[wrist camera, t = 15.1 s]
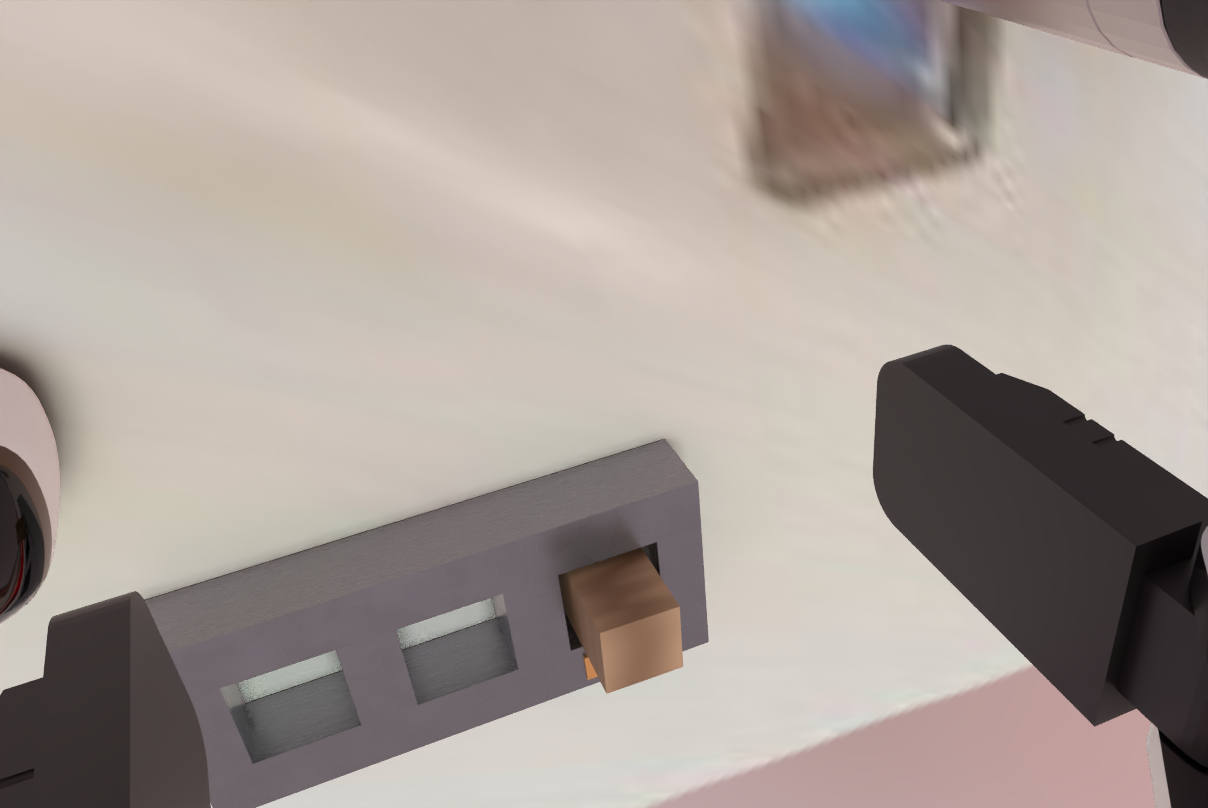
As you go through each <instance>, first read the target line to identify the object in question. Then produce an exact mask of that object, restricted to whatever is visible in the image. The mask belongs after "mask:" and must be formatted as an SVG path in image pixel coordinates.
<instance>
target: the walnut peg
mask: <svg viewBox="0 0 1208 808" xmlns="http://www.w3.org/2000/svg"><path fill="white" fill-rule="evenodd" d="M558 578H559V584H560V590H561V596H562V602H563V608H564V611H565V613H566V615H567V617H568V619H569V621H570V623H571V625H572V627H573V629H574V631H575V633H576V635H577V637H578V639H579V641H580V642H581V644H582V646H583V648H584V650H585V652H586V654H587V656H588V658H589V660H590V662H591V664H592V666H593V668H594V670H595V672H596V674H597V676H598V678H599V680H600V682H601V684H602V686H603V688H604V690H605V691H606V693H610V692H613V691H616V690H619V689H621V688H624V687H627V686H630V685H633V684H636V683H638V682H641V681H644V680H647V679H650V678H653V677H655V676H658V675H661V674H664V673H667V672H670V671H672V670H675V669H678V668H681V667H683V656H682V638H681V620H680V606H679V605H678V603H677V602H676V600H675V598H674V597H673V595H672V594H671V592H670V591H669V589H668V588H667V586H666V585H665V583H664V581H663V580H662V578H661V577H660V575H659V574H658V572H657V571H656V569H655V568H654V566H653V565H652V563H651V561H650V560H649V558H648V557H647V555H646V554H645V552H644V551H643V549H642V548H641V547H640V548H637V549H635V550H632V551H629V552H626V553H623V554H620V555H617V556H614V557H611V558H608V559H605V560H602V561H599V562H596V563H593V564H590V565H587V566H584V567H581V568H578V569H575V570H572V571H569V572H566V573H563V574H560V575H558Z"/></svg>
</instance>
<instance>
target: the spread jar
mask: <svg viewBox="0 0 1208 808" xmlns="http://www.w3.org/2000/svg"><path fill="white" fill-rule="evenodd" d="M59 505H60V468H59V459H58V451H57V446H56V441H55V438H54V434H53V431H52V428H51V425H50V423H49V420H48V418H47V416H46V413H45V411H44V409H43V407H42V405H41V403H40V401H39V399H38V398H37V396H36V395H35V393H34V392H33V390H32V389H31V388H30V387H29V386H28V385H27V384H26V383H25V382H24V381H23V380H21V379H20V378H19V377H17V376H16V375H14V374H12V373H11V372H9V371H7V370H5V369H3V368H1V367H0V624H1V623H3V622H5V621H6V620H7V619H9V618H10V617H11V616H13V615H14V614H16V613H17V612H18V611H19V610H20V609H22V608H23V607H24V606H25V605H27V604H28V602H29V601H30V600H31V599H32V598H33V597H34V596H35V594H36V593H37V591H38V590H39V588H40V587H41V585H42V583H43V581H44V580H45V578H46V576H47V573H48V570H49V567H50V564H51V561H52V558H53V554H54V548H55V543H56V535H57V526H58V516H59Z"/></svg>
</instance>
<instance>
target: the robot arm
mask: <svg viewBox="0 0 1208 808" xmlns="http://www.w3.org/2000/svg"><path fill="white" fill-rule="evenodd" d="M941 1H943V2H947V3H950V4H954V5H957V6H960V7H964V8H967V9H971V10H974V11H977V12H981V13H984V14H988V15H991V16H994V17H998V18H1001V19H1004V20H1008V21H1011V22H1015V23H1018V24H1021V25H1025V26H1028V27H1032V28H1035V29H1038V30H1042V31H1045V32H1048V33H1052V34H1055V35H1059V36H1062V37H1065V38H1069V39H1072V40H1076V41H1079V42H1082V43H1086V44H1089V45H1092V46H1096V47H1099V48H1103V49H1106V50H1109V51H1113V52H1116V53H1120V54H1123V55H1126V56H1130V57H1134V58H1138V59H1142V60H1145V61H1148V62H1152V63H1155V64H1159V65H1162V66H1165V67H1169V68H1172V69H1175V70H1179V71H1182V72H1186V73H1189V74H1192V75H1196V76H1199V77H1203V78H1207V79H1208V0H941ZM873 479H874V485H875V490H876V493H877V497H878V499H879V502H880V504H881V506H882V508H883V510H884V512H885V514H886V515H887V517H888V518H889V520H890V521H891V522H892V524H893V525H894V526H895V527H896V528H897V529H898V530H899V531H900V532H901V533H902V534H903V535H904V536H905V537H906V538H907V539H908V540H909V541H910V542H911V543H912V544H913V545H914V546H915V547H916V548H917V549H918V550H919V551H920V552H921V553H922V554H923V555H924V556H925V557H926V558H927V559H928V560H929V561H930V562H931V563H932V564H933V565H934V566H935V567H936V568H937V569H938V570H939V571H940V572H941V573H942V574H943V575H944V576H945V577H946V578H947V579H948V580H949V581H950V582H951V583H952V584H953V585H954V586H955V587H956V588H957V589H958V590H959V591H960V592H961V593H962V594H963V595H964V596H965V597H966V598H967V599H968V600H969V601H970V602H971V603H972V604H973V605H974V606H975V607H976V608H977V609H978V610H979V611H980V612H981V613H982V614H983V615H984V616H985V617H986V618H987V619H988V620H989V621H990V622H991V623H992V624H993V625H994V626H995V627H996V628H997V629H998V630H999V631H1000V632H1001V633H1002V634H1003V635H1004V636H1005V637H1006V638H1007V639H1008V640H1009V641H1010V642H1011V643H1012V644H1013V645H1014V646H1015V647H1016V648H1017V649H1018V650H1019V651H1020V652H1021V653H1022V654H1023V655H1024V656H1025V657H1026V658H1027V659H1028V660H1029V661H1030V662H1031V663H1032V664H1033V665H1034V666H1035V667H1036V668H1037V669H1038V670H1039V671H1040V672H1041V673H1042V674H1043V675H1044V676H1045V677H1046V678H1047V679H1048V680H1049V681H1050V682H1051V683H1052V684H1053V685H1054V686H1055V687H1056V688H1057V689H1058V690H1059V691H1060V692H1061V693H1062V694H1063V695H1064V696H1065V697H1066V698H1067V699H1068V700H1069V701H1070V702H1071V703H1072V704H1073V705H1074V706H1075V707H1076V708H1077V709H1078V710H1079V711H1080V712H1081V713H1082V714H1083V715H1084V716H1085V717H1086V718H1087V719H1088V720H1089V721H1090V722H1091V723H1092V724H1093V725H1094V726H1097V725H1099V724H1101V723H1103V722H1106V721H1108V720H1110V719H1113V718H1115V717H1118V716H1120V715H1122V714H1125V713H1127V712H1129V711H1132V710H1134V709H1136V708H1137V709H1138V710H1139V711H1140V712H1141V713H1142V714H1143V715H1144V716H1145V717H1146V718H1148V720H1150V721H1151V724H1150V727H1149V731H1148V735H1147V740H1146V742H1147V754H1148V760H1149V767H1150V773H1151V779H1152V787H1153V793H1154V799H1155V806H1156V808H1208V498H1206V497H1205V496H1203V495H1202V494H1200V493H1199V492H1197V491H1196V490H1194V489H1193V488H1191V487H1190V486H1189V485H1187V484H1186V483H1184V482H1183V481H1181V480H1180V479H1178V478H1177V477H1175V476H1174V475H1173V474H1171V473H1170V472H1168V471H1167V470H1165V469H1164V468H1162V467H1161V466H1159V465H1158V464H1156V463H1155V462H1154V461H1152V460H1151V459H1149V458H1148V457H1146V456H1145V455H1143V454H1142V453H1140V452H1139V451H1137V450H1136V449H1135V448H1133V447H1132V446H1130V445H1129V444H1127V443H1126V442H1124V441H1123V440H1120V441H1116V440H1115V438H1114V434H1113V433H1111V432H1110V431H1108V430H1107V429H1105V428H1104V427H1102V426H1101V425H1100V424H1098V423H1097V422H1095V421H1094V420H1092V419H1091V420H1088V421H1087V420H1086V418H1085V414H1083V413H1082V412H1081V411H1079V410H1078V409H1076V408H1075V407H1073V406H1072V405H1070V404H1069V403H1067V402H1066V401H1065V400H1063V399H1062V398H1060V397H1059V396H1057V395H1056V394H1054V393H1053V392H1051V391H1050V390H1048V389H1046V388H1043V387H1040V386H1037V385H1034V384H1032V383H1029V382H1026V381H1023V380H1020V379H1018V378H1015V377H1012V376H1009V375H1006V374H1004V373H1000V374H997V375H996V374H994V373H993V372H992V371H990V370H989V369H987V368H986V367H985V366H983V365H982V364H980V363H979V362H977V361H976V360H975V359H973V358H972V357H970V356H969V355H968V354H966V353H965V352H963V351H962V350H961V349H959V348H957V347H955V346H952V345H942V346H938V347H935V348H932V349H929V350H925V351H922V352H919V353H916V354H912V355H909V356H906V357H903V358H899V359H896V360H893V361H890V362H887V363H886V364H884V365H883V367H882V368H881V370H880V372H879V375H878V381H877V398H876V419H875V439H874V460H873ZM0 808H211V806H210V793H209V779H208V766H207V757H206V751H205V745H204V741H203V736H202V732H201V728H200V725H199V721H198V718H197V715H196V712H195V709H194V706H193V704H192V701H191V699H190V697H189V694H188V692H187V690H186V688H185V686H184V684H183V682H182V679H181V677H180V675H179V673H178V671H177V669H176V666H175V664H174V662H173V660H172V658H171V656H170V654H169V651H168V649H167V647H166V645H165V643H164V641H163V638H162V636H161V634H160V632H159V630H158V628H157V626H156V623H155V621H154V619H153V617H152V615H151V613H150V610H149V608H148V606H147V604H146V602H145V601H144V599H143V598H142V596H141V595H140V594H139V593H138V592H136V591H134V592H131V593H128V594H125V595H121V596H118V597H115V598H111V599H108V600H105V601H102V602H98V603H95V604H92V605H89V606H85V607H82V608H79V609H76V610H72V611H69V612H66V613H63V614H59V615H56V616H54V617H52V618H51V620H50V622H49V626H48V634H47V645H46V655H45V665H44V675H43V678H40V679H37V680H34V681H30V682H27V683H24V684H21V685H18V686H15V687H12V688H9V689H5V690H3V692H2V693H1V695H0Z"/></svg>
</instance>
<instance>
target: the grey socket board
mask: <svg viewBox="0 0 1208 808" xmlns="http://www.w3.org/2000/svg"><path fill="white" fill-rule="evenodd" d="M640 547H641V548H642V549H643V551H644V552H645V554H646V555H647V557H648V558H649V560H650V561H651V563H652V565H653V566H654V568H655V569H656V571H657V572H658V574H659V575H660V577H661V578H662V580H663V581H664V583H665V585H666V586H667V588H668V589H669V591H670V592H671V594H672V595H673V597H674V598H675V600H676V602H677V603H678V605H679V606H680V620H681V638H682V651H685V650H688V649H690V648H693V647H696V646H699V645H701V644H704V643H707V642H709V641H708V625H707V610H706V595H705V580H704V565H703V549H702V534H701V519H700V504H699V489H698V481H697V479H696V478H695V477H694V476H693V474H692V473H691V472H690V470H689V469H688V468H687V467H686V465H685V464H684V463H683V462H682V460H681V459H680V458H679V456H678V455H677V454H676V453H675V451H674V450H673V449H672V448H671V446H670V445H669V444H668V442H667V441H666V440H665V439H664V440H660V441H657V442H654V443H651V444H648V445H644V446H641V447H638V448H635V449H631V450H628V451H625V452H622V453H618V454H615V455H612V456H609V457H606V458H602V459H599V460H596V461H593V462H589V463H586V464H583V465H580V466H577V467H573V468H570V469H567V470H564V471H560V472H557V473H554V474H551V475H547V476H544V477H541V478H538V479H535V480H531V481H528V482H525V483H522V484H518V485H515V486H512V487H509V488H506V489H502V490H499V491H496V492H493V493H489V494H486V495H483V496H480V497H476V498H473V499H470V500H467V501H464V502H460V503H457V504H454V505H451V506H447V507H444V508H441V509H438V510H435V511H431V512H428V513H425V514H422V515H418V516H415V517H412V518H409V519H406V520H402V521H399V522H396V523H393V524H389V525H386V526H383V527H380V528H376V529H373V530H370V531H367V532H364V533H360V534H357V535H354V536H351V537H347V538H344V539H341V540H338V541H335V542H331V543H328V544H325V545H322V546H318V547H315V548H312V549H309V550H305V551H302V552H299V553H296V554H293V555H289V556H286V557H283V558H280V559H276V560H273V561H270V562H267V563H264V564H260V565H257V566H254V567H251V568H247V569H244V570H241V571H238V572H234V573H231V574H228V575H225V576H222V577H218V578H215V579H212V580H209V581H205V582H202V583H199V584H196V585H193V586H189V587H186V588H183V589H180V590H176V591H173V592H170V593H167V594H163V595H160V596H157V597H154V598H151V599H147V600H144V601H145V602H146V604H147V606H148V608H149V610H150V613H151V615H152V617H153V619H154V621H155V623H156V626H157V628H158V630H159V632H160V634H161V636H162V638H163V641H164V643H165V645H166V647H167V649H168V651H169V654H170V656H171V658H172V660H173V662H174V664H175V666H176V669H177V671H178V673H179V675H180V677H181V679H182V682H183V684H184V686H185V688H186V690H187V692H188V694H189V697H190V699H191V701H192V704H193V706H194V709H195V712H196V715H197V718H198V721H199V725H200V728H201V732H202V736H203V741H204V745H205V751H206V757H207V766H208V779H209V793H210V802H211V805H212V807H213V808H256V807H258V806H261V805H264V804H266V803H269V802H272V801H275V800H277V799H280V798H283V797H286V796H288V795H291V794H294V793H297V792H299V791H302V790H305V789H307V788H310V787H313V786H316V785H318V784H321V783H324V782H327V781H329V780H332V779H335V778H338V777H340V776H343V775H346V774H349V773H351V772H354V771H357V770H359V769H362V768H365V767H368V766H370V765H373V764H376V763H379V762H381V761H384V760H387V759H390V758H392V757H395V756H398V755H401V754H403V753H406V752H409V751H411V750H414V749H417V748H420V747H422V746H425V745H428V744H431V743H433V742H436V741H439V740H442V739H444V738H447V737H450V736H452V735H455V734H458V733H461V732H463V731H466V730H469V729H472V728H474V727H477V726H480V725H483V724H485V723H488V722H491V721H494V720H496V719H499V718H502V717H504V716H507V715H510V714H513V713H515V712H518V711H521V710H524V709H526V708H529V707H532V706H535V705H537V704H540V703H543V702H545V701H548V700H551V699H554V698H556V697H559V696H562V695H565V694H567V693H570V692H573V691H576V690H578V689H581V688H584V687H587V686H589V685H592V684H595V683H597V682H600V680H599V678H598V676H597V674H596V672H595V670H594V668H593V666H592V664H591V662H590V660H589V658H588V656H587V654H586V652H585V650H584V648H583V646H582V644H581V642H580V641H579V639H578V637H577V635H576V633H575V631H574V629H573V627H572V625H571V623H570V621H569V619H568V617H567V615H566V613H565V611H564V608H563V602H562V596H561V590H560V584H559V578H558V575H560V574H563V573H566V572H569V571H572V570H575V569H578V568H581V567H584V566H587V565H590V564H593V563H596V562H599V561H602V560H605V559H608V558H611V557H614V556H617V555H620V554H623V553H626V552H629V551H632V550H635V549H637V548H640ZM491 597H492V599H493V604H494V608H495V613H496V617H497V618H495V619H492V620H490V621H487V622H484V623H481V624H478V625H475V626H472V627H469V628H466V629H463V630H460V631H457V632H454V633H451V634H448V635H446V636H443V637H440V638H437V639H434V640H431V641H428V642H425V643H422V644H419V645H416V646H413V647H410V648H407V649H404V650H402V649H401V646H400V643H399V639H398V636H397V632H396V629H399V628H402V627H405V626H408V625H411V624H414V623H417V622H420V621H423V620H426V619H429V618H432V617H435V616H438V615H441V614H444V613H447V612H450V611H453V610H456V609H459V608H462V607H465V606H468V605H471V604H474V603H476V602H479V601H482V600H485V599H488V598H491ZM333 650H336V652H337V655H338V658H339V661H340V664H341V667H342V669H343V671H340V672H337V673H334V674H331V675H328V676H325V677H322V678H319V679H316V680H314V681H311V682H308V683H305V684H302V685H299V686H296V687H293V688H290V689H287V690H284V691H281V692H278V693H275V694H272V695H270V696H267V697H264V698H261V699H258V700H255V701H252V702H249V703H245V701H244V699H243V696H242V694H241V692H240V689H239V687H238V685H237V683H238V682H241V681H244V680H247V679H250V678H253V677H256V676H259V675H262V674H265V673H268V672H271V671H274V670H277V669H280V668H283V667H286V666H289V665H292V664H295V663H298V662H301V661H304V660H307V659H310V658H313V657H315V656H318V655H321V654H324V653H327V652H330V651H333Z"/></svg>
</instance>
